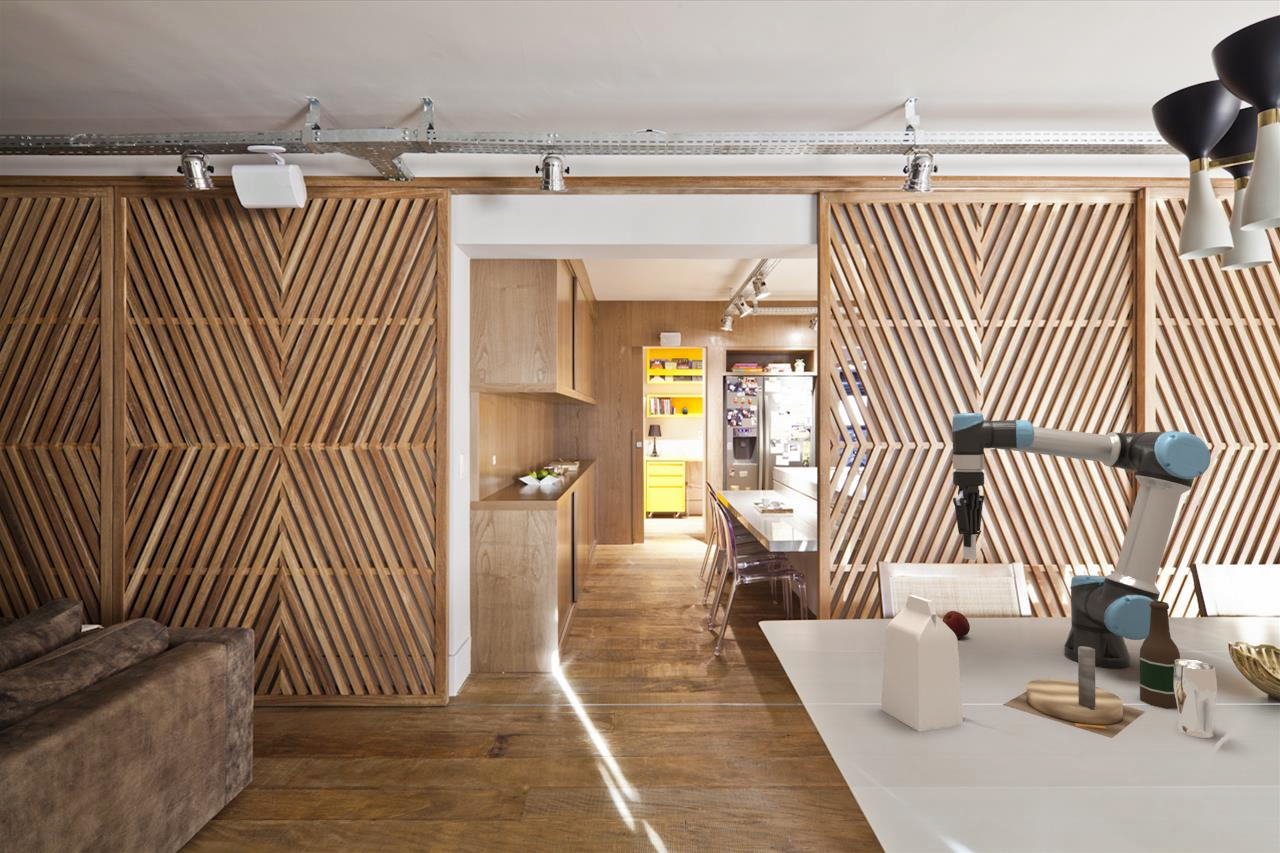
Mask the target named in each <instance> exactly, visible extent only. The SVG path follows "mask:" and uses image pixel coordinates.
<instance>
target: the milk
mask: <svg viewBox="0 0 1280 853" xmlns="http://www.w3.org/2000/svg"><path fill="white" fill-rule="evenodd" d="M907 597H908V598H907V599H906V602H905V606H904V607H903V608H902V609H901V610H900V611H899V612H898V613H897V614H896V615H895V616H894V617H893V618H892V619H891V621H889V623H888V624H887V625H886V628H885V632H884V633H885V634H884V635H885V636H884V649H883V651H884V652H883V668H882V669H883V670H882V686H881V687H882V688H881V707H880V709H881V710H882V711H883V712H885V713H887V714H888V715H889V716H891V717H893V718H895V719H897V720H898V721H900V722H902V723H903V724H906V725H907V726H908V727H910V728H911V729H914V730H915V731H916V732H925V731H932V730H938V729H944V727H945V728H950V726H951V727H955V726H956V725H957V726H963V725H964V723H963V722H964V720H963V707H962V705H963V704H962V690H961V688H962V686H961V673H960V672H961V671H960V659H959V657H960V656H959V641H958V638H957V637H956V635H955V633H954V632H953V631H952V630H951V629H950V628H949V627H948V626H947V625H946V624H945V623H944V622H943V621H942V620H943V619H941V618H940V617H939V616H938V615H937V613H936V612H937V611H936V609H935V605H934V602H933V600H930V599H927V598H924V597H921V596H918V595H915V594H911V595H910V594H909V595H908V596H907Z"/></svg>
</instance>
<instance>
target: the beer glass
mask: <svg viewBox="0 0 1280 853" xmlns="http://www.w3.org/2000/svg"><path fill="white" fill-rule="evenodd" d="M1216 673H1217V672H1216V666H1214V665H1213V664H1211V663H1208V662H1204V661H1200V660H1195V659H1187V658H1180V659H1176V660H1174V669H1173V688H1174V694H1175V699H1176V704H1177V708H1178V709H1177V713H1178V721H1177V726H1176V729H1177V730H1178V731H1179V732H1180V733H1183V734H1185V735H1187V736H1192V737H1196V738H1202V739H1211V738H1214V736H1215V735H1214V731H1213V730H1214V729H1213V717H1214V711H1215V707H1216V702H1217V697H1218V684H1217V683H1218V682H1217V674H1216Z"/></svg>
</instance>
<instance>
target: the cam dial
mask: <svg viewBox="0 0 1280 853" xmlns="http://www.w3.org/2000/svg"><path fill="white" fill-rule="evenodd" d="M1077 667H1078V672H1077V674H1078V677H1077V678H1078V681H1075V680H1074V681H1073V680H1066V679H1059V678H1058V679H1057V678H1040V679H1034V680H1030V681H1029V682H1027V683H1026V685H1025V687H1026V688H1025V690H1026V691H1025V692H1026V699H1027V702H1028V703H1029V704H1030V705H1031V706H1032V707H1034V708H1035V709H1037V710H1039V711H1041V712H1043V713H1046V714H1048V715H1051V716H1054V717H1057V718H1061V719H1064V720H1069V721H1073V722H1079V723H1086V724H1113V723H1117V722H1119V721H1121V720H1122V719H1123V706H1124V702H1123V700H1122V699H1121V698H1120V697H1119V696H1117V695H1116V694H1115V693H1112V692H1111V691H1108V690H1106V689H1104V688H1100V687H1098V686H1096V666H1095V649H1093V648H1090V647H1084V646H1080V647H1078V666H1077Z"/></svg>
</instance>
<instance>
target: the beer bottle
mask: <svg viewBox="0 0 1280 853" xmlns="http://www.w3.org/2000/svg"><path fill="white" fill-rule="evenodd" d="M1149 606H1150V607H1151V616H1150V630H1149V635H1148V637H1147V638H1145V639H1143V642H1142V645H1141V646H1140V649H1139V699H1140V701H1141V702H1144V704H1147V705H1149V706H1153V707H1156V708H1161V709H1162V708H1163V709H1167V710H1174V709H1177V710H1178V708H1177V704H1176V699H1175V694H1174V688H1173V669H1174V660H1176V659H1181V655H1180V654H1181V653H1180V650H1179V648H1178V646H1177V644H1176V643H1175V642H1174V640H1173V639H1172V637H1171V632H1170V620H1169V609H1170V606H1169V603H1168V602H1165V601H1162V600H1158V601H1151V602H1150V605H1149Z"/></svg>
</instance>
